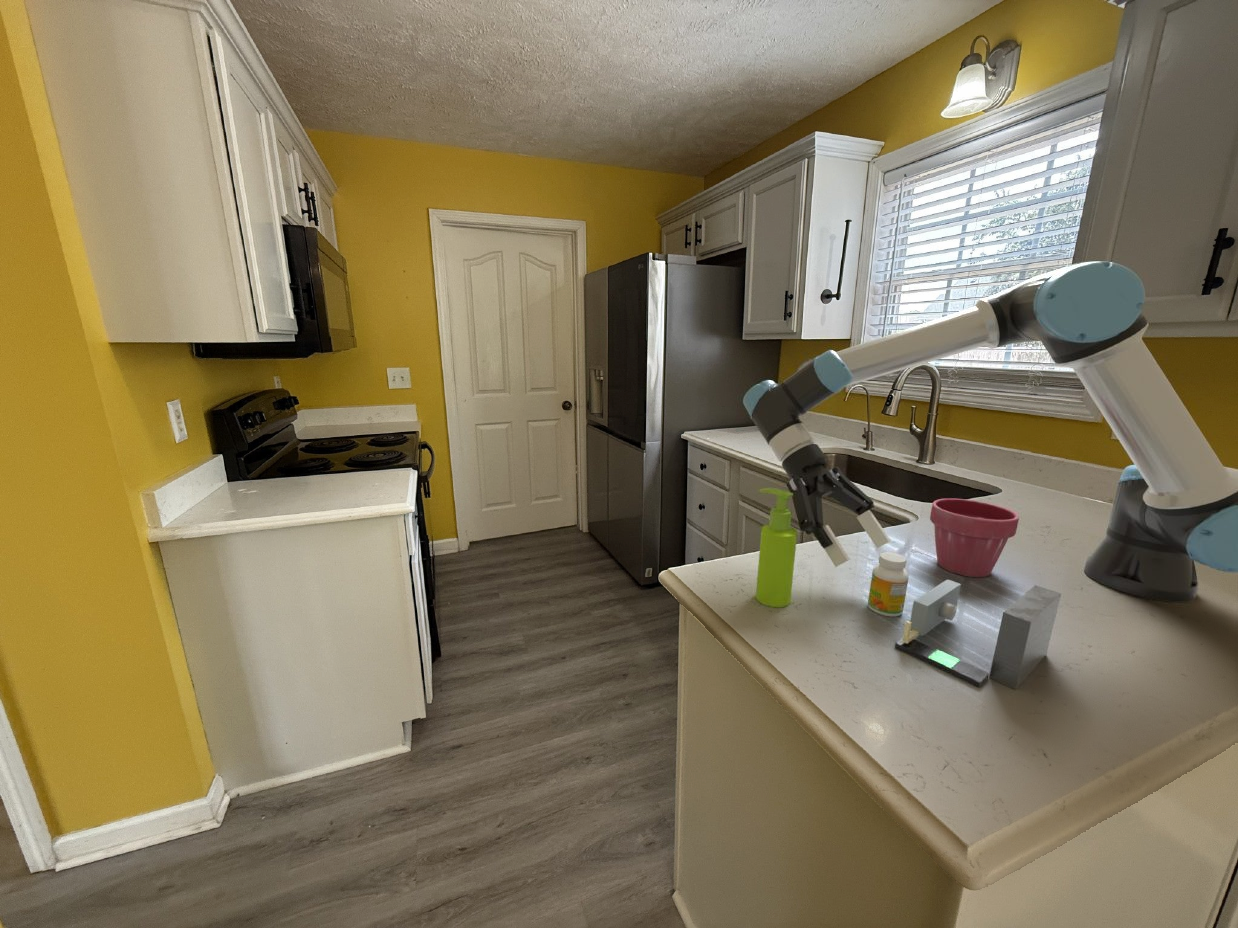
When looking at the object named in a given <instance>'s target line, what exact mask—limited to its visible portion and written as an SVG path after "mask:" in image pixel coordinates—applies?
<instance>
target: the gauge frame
mask: <svg viewBox="0 0 1238 928" xmlns="http://www.w3.org/2000/svg"><path fill="white" fill-rule="evenodd" d="M1061 596H1062V593H1061V592H1058V591H1055V590H1052V589H1048V588H1046V587H1043V586H1039V585H1036V584H1035V585H1033V586H1032V588H1030V589H1029V590H1028V591H1027V592H1026V593H1024V594H1023V595H1022V596H1021V597H1019V598H1018V599H1017V600H1016V601H1015V602H1014V603H1012V604H1011V605H1010V606H1009V607H1008V608H1006V609H1005V610H1004V611H1003V613H1002V617H1001V621H1000V626H999V631H998V635H997V639H996V645H995V648H994V654H993V657H992V663H991V667H990V671H989V672H987V671H985V670H983V669H980V668H978V667H976V666H974V665H972V664H970V663H967V662H965V661H963V660H961V659H959V658H957V657H955V656H953V655H951V654H950V653H947V652H944V651H942V650H940V649H936V648H934V647H932V646H929V645H927V644H925V643H923V642H921V641H919V640H916V639H915V638H914V639H913V640H912V641H910V642H909V643H908V644H907V643H905V642H902V638H901V639H898V640H897V641H896V642H895V643H894V648H895V649H897V650H899V651H901V652H904V653H905V654H907V655H909V656H912V657H914V658H916V659H918V660H920V661H923V662H925V663H927V664H929V665H931V666H933V667H934V668H937V669H939V670H941V671H943V672H946V673H948V674H949V675H952V676H954V677H955V678H958V679H960V680H963V681H965V682H967V683H969V684H970V685H972V686H975V687H977V688H981V686H982V685H984V683H985V682H986V681H987V680H989V679H991V680H993V681H995V682H997V683H1000V684H1002V685H1004V686H1007V687H1009V688H1011V689H1014V690H1017V689H1018V688H1019V686H1020V685H1021V684H1022V683H1023V682H1024V680H1025V679H1027V678H1028V676H1029V675H1030V674H1031V673H1032V672H1033V671H1034V670H1035V668H1036V667H1037V666H1038V665H1039V664H1040V663H1041V662H1042V660H1044V658H1045V657H1046V656H1047V654H1048V649H1049V646H1050V645H1049V644H1050V641H1051V636H1052V633H1053V629H1054V624H1055V622H1056V621H1055V620H1056V618H1057V617H1056V616H1057V612H1058V608H1059V604H1060V601H1061Z"/></svg>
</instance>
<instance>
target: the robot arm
mask: <svg viewBox="0 0 1238 928" xmlns="http://www.w3.org/2000/svg"><path fill="white" fill-rule="evenodd" d="M1145 302H1146V290H1145V287H1144V283H1143V281H1142V280H1141V279H1140V277H1139V275H1137V274H1136V273H1135V272H1134V271H1133V270H1132V269H1131V268H1128V267H1126V266H1125V265H1122V264H1119V263H1117V262H1116V263H1115V262H1113V261H1112V262H1111V261H1103V260H1102V261H1099V260H1098V261H1084V262H1077V263H1073V264H1070V265H1066V266H1065V267H1061V268H1059V269H1055V270H1052V271H1048V272H1047V271H1046V272H1044V273H1041V274H1039V275H1035V276H1033V277H1031V278H1029V279H1026V280H1024V281H1023V282H1021V283H1018V284H1016V285H1014V286H1012V287H1009V288H1007V289H1006V290H1003V291H1000V292H998V293H996V294H993V295H989V296H988V297H984V298H980V299H979V300H978V301H977V302H976V304H975V305H974V306H972V307H971V308H967V309H964V310H960V311H957V312H955V313H952V314H947V316H943V317H940V318H936V319H934V320H933V319H932V320H931V321H927V322H925V323H921V324H918V325H915V326H912V327H909V328H906V329H903V330H900V331H897V332H893V333H891V334H888V335H885V336H881V337H878V338H876V339H872V340H869V341H866V342H863V343H860V344H856V345H853V346H850V347H847V348H844V349H841V350H839V351H835V350H832V349H829V350H826V351H825V352H823V353H822V354H820V355H817V356H816V357H815V358H814V357H813V358H810V359H808V360H805V361H803V363H801V364H800V365H799V366H798V368H797V370H796V372H795V373H793V374H792V375H790V376H789V377H788V378H787V379H785V380H784V381H781V382H780V383H776V382H775V381H774V380H770V379H766V380H762V381H761V382H760V383H758V384H755V385H754V386H752V387H750V389H749V390H748V391H746V392H745V394H744V396H743V400H742V402H743V405H744V407H745V409H746V411H747V413H748V415H749V416H750V419H751V421H752V422H753V424H754V426H756V428H757V429H758V431H759V433H760V434H761V435H762V437H763V438H764V440H765V442H766V443H767V445H768V446H769V447H770V448H771V451H772V452H773V454H774V455H775V457H776V458H777V460H778V462H782V463H781V467H782V468H783V470H784V471H785V473H786V475H787V476H788V478H789V479H790V480H789V481H787V483H786V485H785V486H786V487H787V489H788V492H791V493H793V496H792V497H791V498H792V499H791V500H792V503H793V506H794V510H795V515H796V518H797V523H798V526H799V527H798V528H799V529H800V531H802V532H805V534H806V535H807V536H808V535H809V536H810V535H811V534H813V535H814V537H815V538H816V540H817V541H818V543H819V545H820V546H821V547H822V548H823V550H825V552H826V554H827V556H828V558H829V559H830V561H831V562H832V563H833V565H834V566H835V568H837V567H839V566H841V565H842V564H844V563H846V562H848V561H850V560H851V558H850V556H849V555H848V553H847V552H846V551H845V549H844V547H843V546H842V544H841V543H840V541H839V540H838V537H837V536H836V535H835V533H834V532H833V530H832V529H831V527H830V526H829V524H826V525H824V515H823V513H824V512H823V498H824V497H828V498H833V499H834V500H836V501H837V502H839V503H840V504H841V505H843V506H845V507H846V508H848V509H849V510H851V511H852V512H853V513H855V514H857V515H858V516H856V519H857V521H858V522H859V523H860V525H861V526H862V528H863V529H864V531H865V533H866V534H867V535H868V537H869V538H870V539H871V541H872V543H873V544H874V545H875V547H876V548H877V549H879V548H881V547H883V546H885V545H887V544H888V543H890V542H892V540H891V539H890V537H889V535H888V534H887V533H886V531H885V530H884V528H883V527H882V525H881V523H880V522H879V521H878V519H877V517H876V516H875V515H874V513H873V512H872V511H871V509H873V508H875V504H874V503H875V502H874V501H873V499H871V497H869V496H868V495H867V494H866V493H865V492H864V491H862V490H861V489H860V488H859V487H858V486H857V485H856V484H855V483H854V482H852V480H850V479H849V478H848V477H846V475H845V474H844V473H843V472H842V471H841V469H840V468H839V467H838V466H834V467H833V468H831V469H830V470H829V469H828V468H826V466H825V463H826V462H827V459H828V458H827V456H826V455H825V453H824V452H823V451H822V449H821V448H820V446H819V445H818V444H816V443H815V441H816V440H815V439H814V437H813V436H812V434H811V433H810V432H809V430H808V429H807V427H806V426H805V424H804V423H803V421H802V420H801V418H800V417H801V416H803V415H805V414H806V413H808V412H809V411H810V410H812V409H813V408H815V407H817V406H818V405H819V404H822V403H823V402H824V401H827V399H829V398H831V397H832V396H834V395H835V394H837V393H840V392H841V391H842V390H843V389H844V388H846V387H849V386H852V385H854V384H855V385H856V384H858V383H862V382H866V381H869V380H872V379H876V378H879V377H883V376H885V375H889V374H893V373H896V372H899V371H904V370H907V369H910V368H913V367H917V366H920V365H923V364H927V363H929V362H933V361H937V360H941V359H944V358H948V357H950V356H955V355H957V354H961V353H964V352H965V353H966V352H968V351H971V350H974V349H978V348H980V347H981V348H982V347H986V348H988V349H997V348H1001V347H1002V346H1003V347H1004V346H1008V345H1013V344H1017V343H1028V342H1041V343H1042V345H1043V347H1044V348H1045V350H1046V351H1047V353H1048V354H1049V356H1050V358H1051V359H1052V360H1053V362H1054V364H1055V365H1056V366H1060V367H1061V366H1062V367H1066V368H1067V367H1069V368H1070V369H1073V371H1074V373H1075V374H1076V376H1077V378H1078V379H1079V380H1080V382H1081V383H1082V385H1083V387H1084V388H1085V390H1086V391H1087V393H1088V395H1089V396H1090V397H1091V399H1092V401H1093V402H1094V405H1095V406H1096V407H1097V408H1098V410H1099V411H1100V413H1101V414H1102V416H1103V417H1104V419H1105V421H1106V422H1107V424H1108V425H1109V427H1110V429H1111V430H1112V432H1113V433H1114V435H1115V436H1116V438H1117V439H1118V441H1119V443H1120V444H1121V446H1122V447H1123V449H1124V450H1125V452H1126V453H1127V455H1128V457H1129V458H1130V460H1131V461H1132V463H1133V464H1131V465H1128V466H1126V467H1125V468H1124V469H1123V471H1122V473H1121V476H1120V477H1119V480H1118V482H1117V485H1118V486H1117V489H1116V493H1115V497H1114V501H1113V504H1112V505H1113V506H1112V509H1111V513H1110V517H1109V521H1108V524H1107V529H1106V533H1105V535H1104V538H1103V539H1102V540H1101V541H1100V542H1099V544H1098V545H1097V546H1096V547H1095V549H1094V550H1093V552H1092V553H1091V555H1090V556H1088V557H1087V559H1086V561H1085V564H1084V569H1083V570H1084V573H1085V574H1086V575H1087V576H1088V577H1089V578H1090V579H1092V580H1094V581H1095V582H1098V583H1099V584H1102V585H1104V586H1106V587H1109V588H1111V589H1114V590H1117V591H1120V592H1123V593H1127V594H1130V595H1134V596H1138V597H1142V598H1147V599H1150V600H1151V599H1152V600H1157V601H1163V602H1170V603H1187V602H1192V601H1194V600H1195V599H1196V596H1197V594H1198V591H1199V582H1198V576H1197V569H1196V565H1195V562H1196V563H1197V564H1199V565H1203V566H1206V567H1209V568H1211V569H1213V570H1217V571H1220V572H1224V573H1225V572H1226V573H1237V574H1238V469H1237V468H1233V467H1227V466H1224V465H1223V464H1222V462H1221V461H1220V459H1219V457H1218V455H1217V454H1216V452H1215V451H1214V450H1213V448H1212V446H1211V444H1210V443H1209V441H1208V440H1207V438H1206V437H1205V436H1204V434H1203V433H1202V431H1201V429H1200V428H1199V427H1198V425H1197V423H1196V422H1195V420H1194V419H1193V417H1192V415H1191V413H1190V412H1189V410H1188V409H1187V408H1186V406H1185V405H1184V403H1183V401H1182V400H1181V398H1180V397H1179V395H1178V393H1177V392H1176V390H1175V389H1174V387H1173V385H1172V384H1171V382H1170V381H1169V379H1168V378H1167V376H1166V374H1165V373H1164V371H1163V370H1162V369H1161V367H1160V365H1159V364H1158V363H1157V361H1156V359H1155V357H1154V355H1153V354H1152V353H1151V352H1150V350H1149V349H1148V347H1147V345H1146V344H1145V342H1144V341H1143V336H1144V334H1145V332H1146V331H1147V329H1148V327H1149V322H1148V320H1147V319H1146V317H1145V316H1144V313H1143V312H1142V311H1143V308H1142V307H1143V305H1144V303H1145Z"/></svg>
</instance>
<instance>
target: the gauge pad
mask: <svg viewBox="0 0 1238 928" xmlns="http://www.w3.org/2000/svg"><path fill="white" fill-rule="evenodd" d="M961 586H962V583H959V582H956V581H953V580H951V579H946V580H944V581H943V582H940V583H939V584H937V585H935V586H934V587H933V588H931V589H930V590H928V591H927V592H925V593H923V594H922V595H920V596H919V597H917V598H916V599H914V600H913V603H912V609H911V615H910V621H909V620H906V621H905V623H904V629H903V635H902V637H901V639H902V642H905V643H907V644H908V643H909V642H910V641H912V640H913V639H914V640H915V638H918V636H919V635H920V636H921V637H922V636H924V635H926V634H927V633H929V632H930V631H931V630H933V629H934V628H936V627H937V626H939V625H940V624H941V623H943V622H944V621H945V620H948V621H950V622H951V621H953V619H955V616H956V613H957V607H958V602H959V597H960V596H959V595H960V591H961Z"/></svg>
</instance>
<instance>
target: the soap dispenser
mask: <svg viewBox="0 0 1238 928" xmlns="http://www.w3.org/2000/svg"><path fill="white" fill-rule="evenodd" d="M758 492H759V493H760V494H768V495H769V494H770V495H774V496H776V505H775V507H772V508H771V509H770V513H769V515H770V516H769V524H768V523H767V524H765V525H763V526H761V530H760V543H759V552H758V566H757V578H756V589H755V598H756V600H757V601H758V602H759V603H761V604H762V605H764V606H767V607H771V608H784V607H787V606H789V605H790V603H791V598H792V588H793V579H794V578H793V577H794V570H795V569H794V568H795V558H796V548H797V542H798V541H797V539H798V530H796V528H794V527H791V521H792V511H791V510H790V509H789V508H788V506H787V505H788V499H790V498H792V496H793V493H791V492H790V491H789V490H785V489H781V488H775V487H763V488H762V489H761V488H760V489H758Z"/></svg>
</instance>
